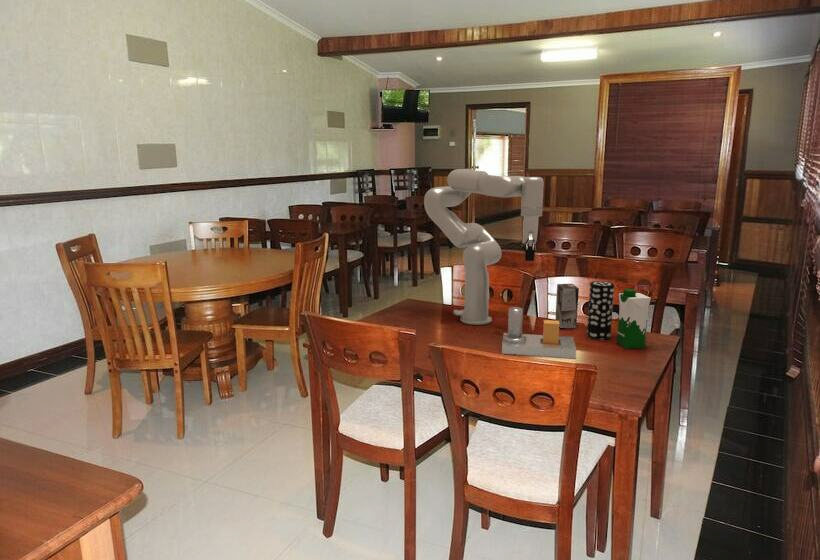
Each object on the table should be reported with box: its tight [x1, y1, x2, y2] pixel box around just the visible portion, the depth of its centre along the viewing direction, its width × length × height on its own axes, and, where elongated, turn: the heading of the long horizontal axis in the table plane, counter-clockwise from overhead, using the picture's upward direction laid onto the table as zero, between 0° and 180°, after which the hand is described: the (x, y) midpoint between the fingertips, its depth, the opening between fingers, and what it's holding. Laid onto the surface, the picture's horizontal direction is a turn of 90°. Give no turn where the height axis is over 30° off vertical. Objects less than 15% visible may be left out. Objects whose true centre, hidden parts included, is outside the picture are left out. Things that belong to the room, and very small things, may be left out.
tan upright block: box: [542, 319, 560, 345], centre depth 194 cm, size 5×4×10 cm
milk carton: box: [615, 288, 652, 350], centre depth 198 cm, size 9×9×20 cm
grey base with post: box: [501, 306, 577, 359], centre depth 195 cm, size 24×14×14 cm, turn 78°
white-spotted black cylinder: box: [586, 280, 615, 341], centre depth 208 cm, size 8×8×20 cm
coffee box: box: [554, 283, 580, 329], centre depth 222 cm, size 9×6×16 cm
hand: (529, 258), depth 209 cm, fingers open, 9 cm apart
